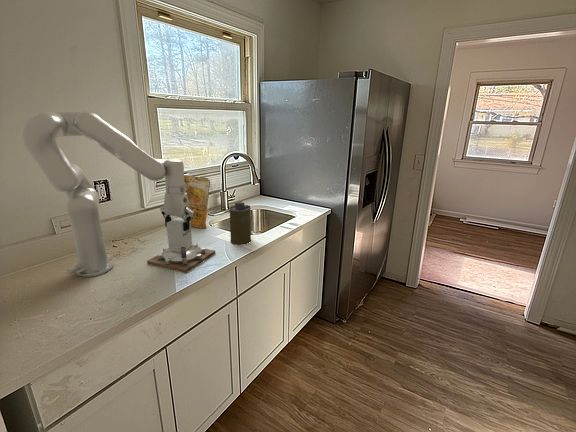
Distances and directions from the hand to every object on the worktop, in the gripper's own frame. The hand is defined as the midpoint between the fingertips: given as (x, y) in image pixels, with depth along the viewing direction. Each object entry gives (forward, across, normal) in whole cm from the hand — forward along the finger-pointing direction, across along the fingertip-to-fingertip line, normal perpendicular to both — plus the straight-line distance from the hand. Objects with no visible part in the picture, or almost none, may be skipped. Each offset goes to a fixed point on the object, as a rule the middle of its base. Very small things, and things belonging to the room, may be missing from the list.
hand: (177, 228), depth 132 cm
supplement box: (+9, -1, -1) cm, 9 cm away
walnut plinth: (+13, -4, +2) cm, 13 cm away
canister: (+12, -17, -26) cm, 33 cm away
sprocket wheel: (+11, -4, +2) cm, 12 cm away
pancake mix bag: (+13, +18, -36) cm, 42 cm away
